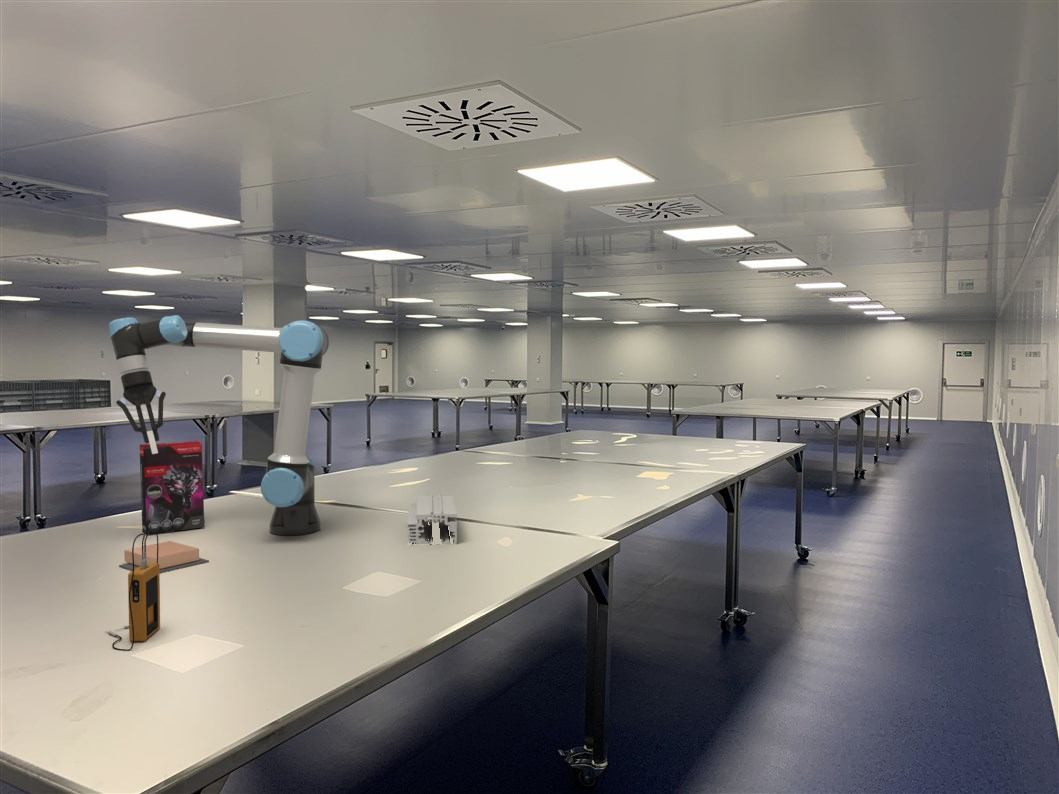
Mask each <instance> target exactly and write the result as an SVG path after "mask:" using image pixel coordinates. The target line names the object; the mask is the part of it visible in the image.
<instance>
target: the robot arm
mask: <svg viewBox="0 0 1059 794" xmlns="http://www.w3.org/2000/svg"><path fill="white" fill-rule="evenodd" d="M108 329H109V336H110V337H109V338H110V340H111V345H112V348H113V350H114V351H113V352H114V355H115V359H116V364H117V368H118V371H119V374H120V375H121V377H120V380H121V383H122V387H123V394H122V397H121V398H120V399H119V400H116V402H115V403H116V405H117V406H118V407H120V409H122V411H123V413H124V415H125V416H126V418H127V419H128V421H129V424H130V425H131V427H132V429H133V431H134V432H136V433H137V432H138V433H141V434H142V437H143V442H144V444H150V447H151V451H152V454H156V453H158V450H157V446H156V444H157V443H156V442H159V441H160V436H159V432H158V429H160V428H161V427H163V425H164V401H165V398H166V394H167V393H166V392H165V391H161V390H158V389H157V388H156V386H155V385H154V382H153V379H152V378H153V377H152V374H151V371H149V369H150V366H149V362H148V359H147V353H146V349H147V350H148V349H151V348H152V349H153V348H156V347H161V346H173V347H174V346H176V347H183V348H185V347H188V348H190V347H191V348H195V347H196V348H204V349H205V348H208V349H220V350H221V349H222V350H237V351H248V352H249V351H250V352H263V353H264V352H266V353H268V352H269V353H280V357H279V358H280V359H279V366H280V367H281V368H282V370H283V377H282V379H283V380H282V385H281V393H280V394H281V396H280V401H279V402H280V403H279V409H278V418H277V419H278V420H277V426H276V427H277V428H276V434H275V435H276V436H275V440H274V441H275V443H274V448H273V449H274V451H273V452H272V454H271V455H269V456H268V457H267V463H266V470H265V474H264V476H263V478H262V480H261V483H260V492H261V495H262V497H263V498H264V500H265V501H266V502H267V503H268V504H269V505H272V506H273V507H274V511H273V513H272V517H271V520H270V523H269V533H270V534H273V535H279V536H300V535H301V536H302V535H306V534H307V535H308V534H312V533H315V532H319V531H320V530H321V519H320V517H319V513H318V511H317V508H316V506H315V496H316V495H315V494H316V493H315V469H316V465H315V460H314V458H313V457H311V456H306V450H307V449H306V447H307V442H308V441H307V440H308V431H309V426H310V425H309V424H310V423H309V422H310V415H311V407H312V400H313V392H314V384H315V378H316V377H315V376H316V374H317V373H318V372H320V371H322V364H323V356H324V355H325V354H326V353H327V351H328V349H329V346H330V340H329V339H330V338H329V336H328V333H327V331H326V330H325V329H324V328H323V327H322V326H320V325H319V324H316V323H314V322H313V321H310V320H306V319H305V320H301V319H300V320H296V321H295V320H294V321H291V322H290V323H288V324H285V325H284V326H283V327H272V326H271V327H270V326H255V325H242V324H241V325H239V324H223V323H212V322H210V323H209V322H195V321H194V322H193V321H185V320H184V319H183V318H182V317H181V316H180V315H178V314H175V315H170V316H169V315H166V316H163V317H161V318H156V319H153V320H152V319H151V320H148V321H143V322H138V319H137V318H135V317H123V318H117V319H114V320H112V321H110V322H109V323H108ZM155 396H156V398H157V399H158V409H157V411H158V413H157V415H158V416H157V418H158V419H157V423H156V421H155V415H154V413H153V408H152V404H151V403H152V401H153V399H155ZM127 402H129V403H131V405H133V406H135V409H136V413H137V417H138V421H139V427H138V425H137V422H136V420H135V419H134V418H133V415H132V413H131V411H130V410H129V408H128V407H127V404H128V403H127ZM142 405H145V406H146V411H147V415H148V419H149V423H150V427H151V430H149V431H148V430H147V427H146V422H145V418H144V415H143V414H144V413H143V411H142Z"/></svg>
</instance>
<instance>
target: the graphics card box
mask: <svg viewBox="0 0 1059 794" xmlns="http://www.w3.org/2000/svg"><path fill="white" fill-rule="evenodd" d="M156 446H157V450H158V453H156V454H152V451H151V447H150V443H144V444H139V448H138V450H139V451H138V452H139V466H140V468H139V469H140V472H139V473H140V495H141V496H140V498H141V500H140V501H141V528H142V533H143V534H145V536H146V535H147V534H148V532H149V531H150V530H151V529H153V528H155V529H156V530H157V533H158V535H159V534H165V533H170V532H177V531H179V532H180V531H188V530H193V529H199V528H205V501H204V500H205V499H204V476H203V475H204V473H203V443H201V441H198V440H195V441H180V442H158V443H156ZM149 535H156V531H155V530H152V531H151V532H150V533H149ZM149 535H148V536H149Z"/></svg>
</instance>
